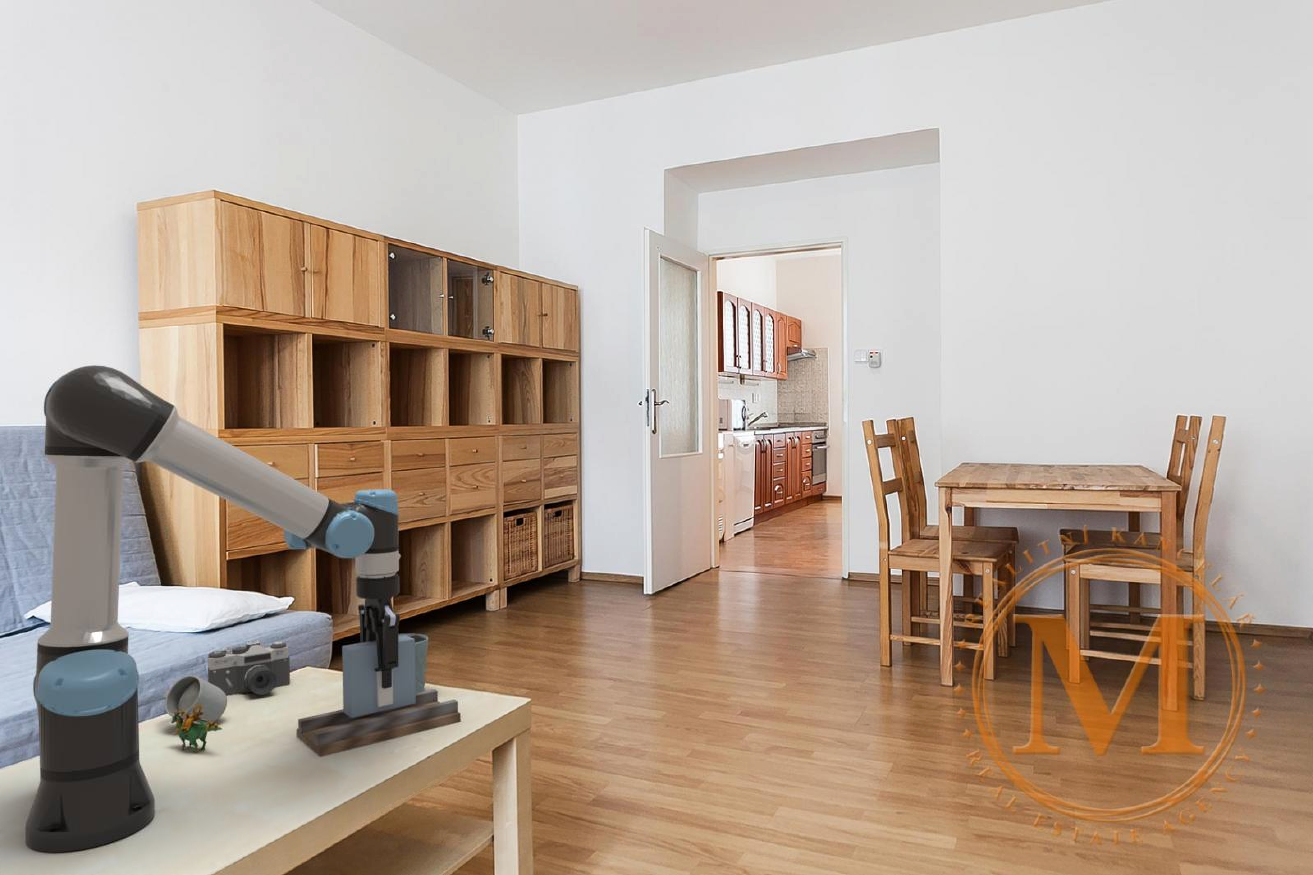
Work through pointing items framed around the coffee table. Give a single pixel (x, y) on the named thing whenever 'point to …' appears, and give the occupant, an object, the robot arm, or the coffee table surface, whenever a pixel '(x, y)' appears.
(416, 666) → the grey green cup
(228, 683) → the camera
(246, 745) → the coffee table surface
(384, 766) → the coffee table surface
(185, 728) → the figurine
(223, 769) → the coffee table surface
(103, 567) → the robot arm
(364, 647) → the door panel
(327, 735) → the door track
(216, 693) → the ceramic mug
